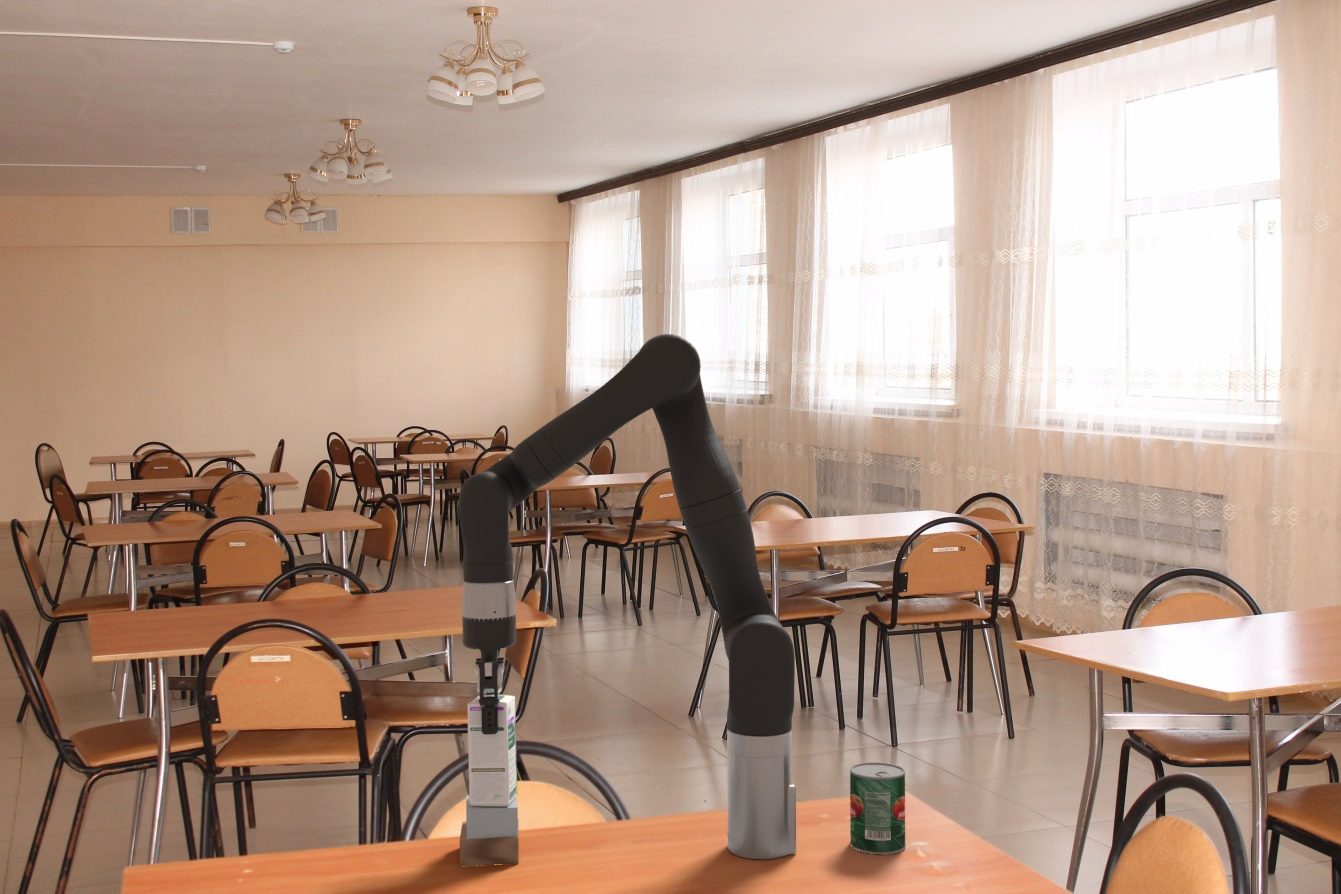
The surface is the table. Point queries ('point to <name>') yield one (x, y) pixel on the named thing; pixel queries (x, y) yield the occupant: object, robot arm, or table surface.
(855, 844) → the canned tomato
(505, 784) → the syrup box
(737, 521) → the robot arm
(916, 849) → the table surface
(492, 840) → the tower base
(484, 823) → the tower top
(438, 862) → the table surface
